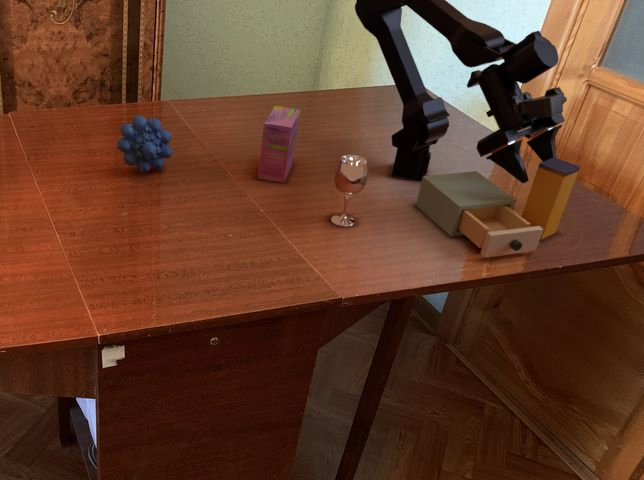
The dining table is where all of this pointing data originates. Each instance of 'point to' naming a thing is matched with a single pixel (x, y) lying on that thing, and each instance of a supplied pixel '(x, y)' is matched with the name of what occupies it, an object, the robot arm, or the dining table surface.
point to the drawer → (499, 230)
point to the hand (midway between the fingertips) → (540, 176)
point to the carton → (549, 194)
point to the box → (278, 143)
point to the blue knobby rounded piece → (144, 143)
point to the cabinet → (458, 197)
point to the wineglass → (349, 183)
